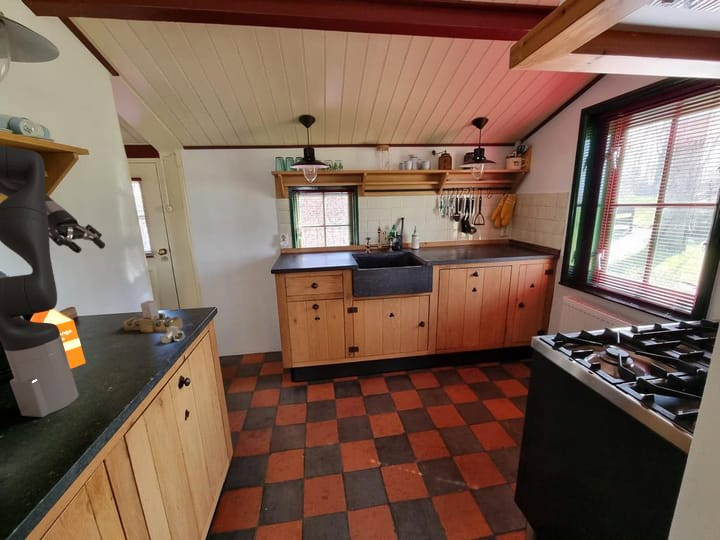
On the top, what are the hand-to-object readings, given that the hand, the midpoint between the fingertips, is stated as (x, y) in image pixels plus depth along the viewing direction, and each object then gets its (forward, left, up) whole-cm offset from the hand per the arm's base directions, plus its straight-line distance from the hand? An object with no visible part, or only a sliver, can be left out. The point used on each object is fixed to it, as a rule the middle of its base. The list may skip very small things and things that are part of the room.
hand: (92, 249), depth 107 cm
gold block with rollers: (+5, -13, -33) cm, 36 cm away
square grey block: (+5, -13, -33) cm, 36 cm away
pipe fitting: (-3, -27, -33) cm, 43 cm away
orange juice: (-22, -6, -33) cm, 40 cm away
